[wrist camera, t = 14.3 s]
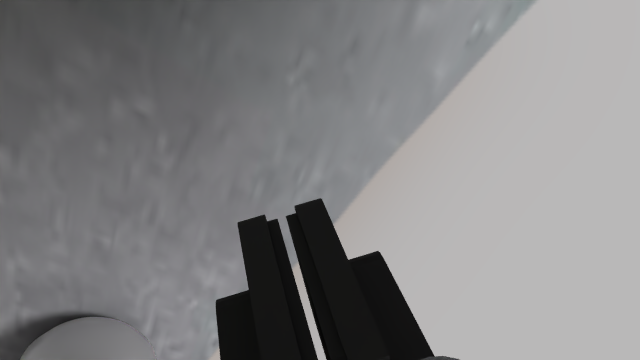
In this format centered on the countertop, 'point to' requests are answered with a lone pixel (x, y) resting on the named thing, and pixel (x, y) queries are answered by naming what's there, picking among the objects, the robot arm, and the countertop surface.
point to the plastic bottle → (91, 342)
